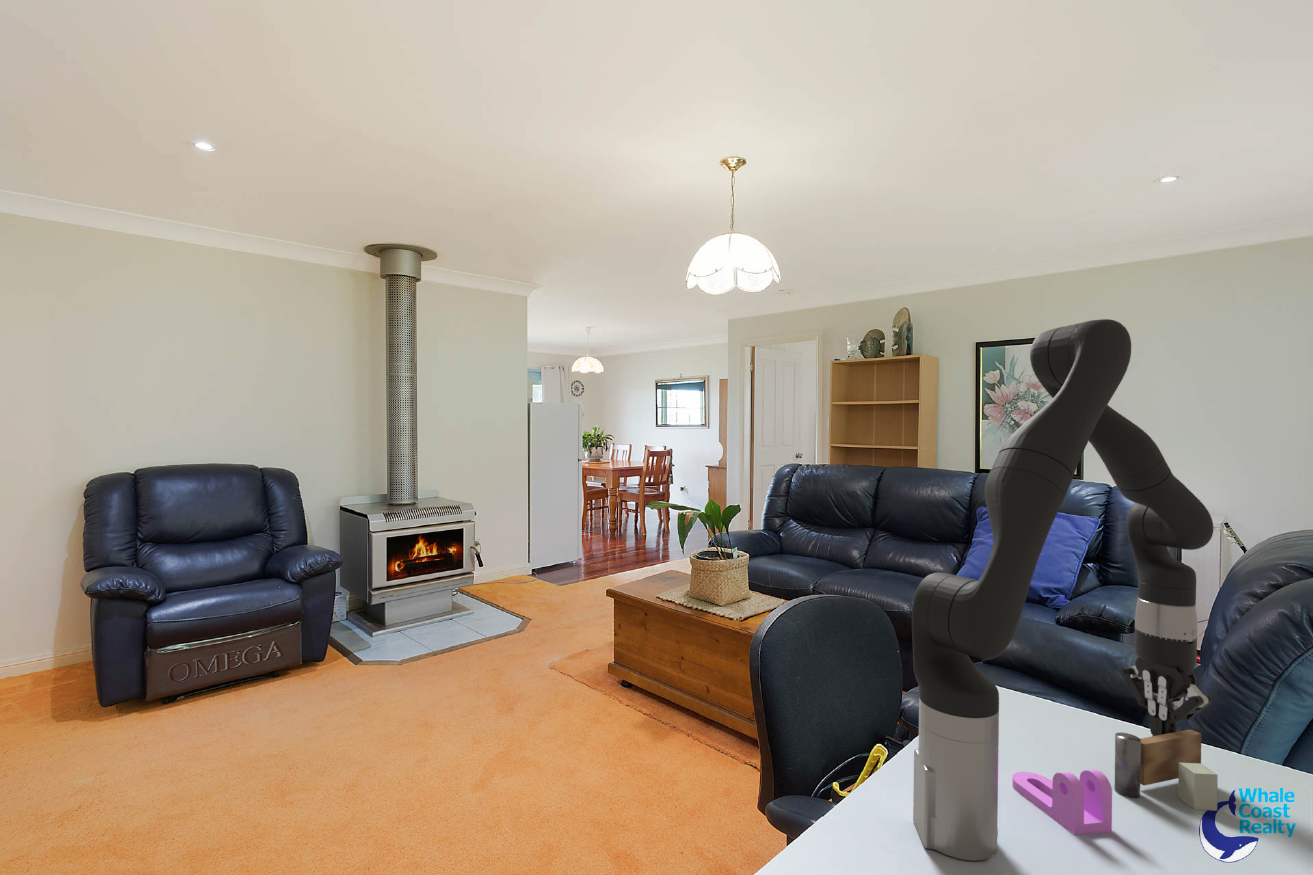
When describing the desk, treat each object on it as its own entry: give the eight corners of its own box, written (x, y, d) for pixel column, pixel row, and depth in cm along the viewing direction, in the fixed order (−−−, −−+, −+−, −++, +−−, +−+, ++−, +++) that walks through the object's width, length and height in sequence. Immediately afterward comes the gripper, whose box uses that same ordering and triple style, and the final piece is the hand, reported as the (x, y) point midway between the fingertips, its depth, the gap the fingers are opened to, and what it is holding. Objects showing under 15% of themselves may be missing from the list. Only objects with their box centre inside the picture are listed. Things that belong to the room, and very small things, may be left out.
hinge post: (1121, 796, 92) (1122, 740, 92) (1110, 785, 95) (1110, 731, 95) (1144, 798, 92) (1145, 742, 92) (1132, 787, 95) (1133, 733, 95)
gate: (1143, 785, 93) (1144, 744, 93) (1133, 780, 95) (1134, 739, 95) (1200, 773, 97) (1201, 733, 97) (1189, 768, 98) (1190, 729, 98)
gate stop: (1194, 809, 89) (1194, 773, 89) (1178, 797, 92) (1178, 762, 92) (1217, 810, 89) (1217, 774, 89) (1200, 798, 92) (1200, 763, 92)
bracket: (1111, 831, 84) (1112, 778, 84) (1074, 835, 83) (1075, 781, 83) (1036, 779, 97) (1037, 733, 97) (1003, 782, 96) (1004, 735, 96)
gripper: (1106, 618, 105) (1104, 723, 105) (1190, 645, 92) (1187, 765, 92) (1144, 615, 107) (1141, 719, 107) (1231, 642, 94) (1228, 760, 94)
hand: (1162, 740), depth 100 cm, fingers closed
